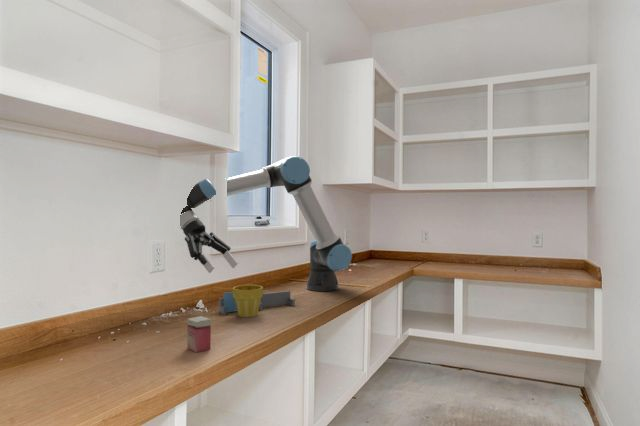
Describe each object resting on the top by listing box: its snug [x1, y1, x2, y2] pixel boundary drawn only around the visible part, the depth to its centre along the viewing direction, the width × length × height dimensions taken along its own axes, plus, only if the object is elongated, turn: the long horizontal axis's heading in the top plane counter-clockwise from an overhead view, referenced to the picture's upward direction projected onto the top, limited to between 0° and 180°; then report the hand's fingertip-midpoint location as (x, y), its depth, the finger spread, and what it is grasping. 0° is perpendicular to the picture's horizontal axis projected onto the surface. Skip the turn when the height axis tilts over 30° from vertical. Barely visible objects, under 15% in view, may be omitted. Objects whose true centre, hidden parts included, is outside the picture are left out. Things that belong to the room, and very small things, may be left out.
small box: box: [186, 315, 212, 353], centre depth 108 cm, size 5×4×8 cm
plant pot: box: [232, 284, 264, 318], centre depth 144 cm, size 10×10×10 cm
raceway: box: [218, 290, 296, 316], centre depth 154 cm, size 28×5×7 cm, turn 121°
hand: (224, 268), depth 148 cm, fingers open, 13 cm apart
